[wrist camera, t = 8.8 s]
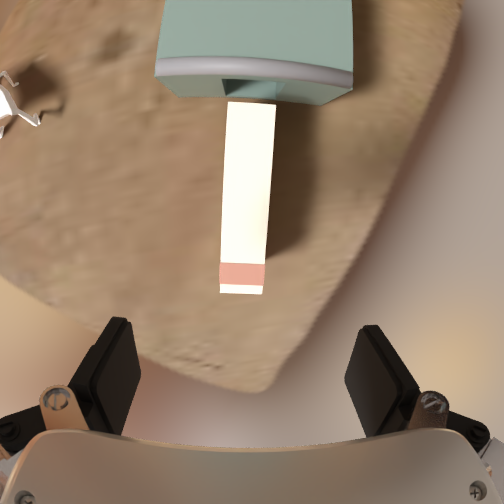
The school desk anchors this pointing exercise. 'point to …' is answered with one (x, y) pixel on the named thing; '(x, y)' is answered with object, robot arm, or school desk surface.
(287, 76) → the block
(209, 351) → the school desk surface
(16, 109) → the white scroll-footed stand
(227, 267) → the pink-banded cream bar
